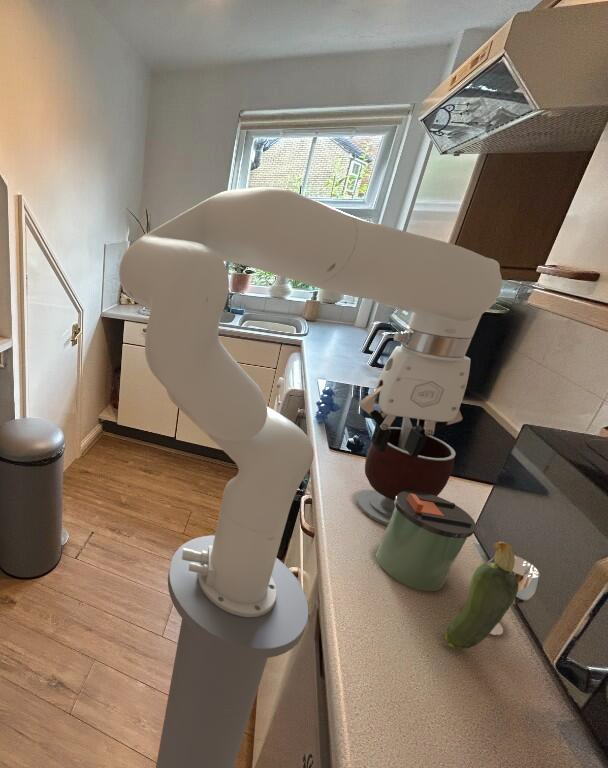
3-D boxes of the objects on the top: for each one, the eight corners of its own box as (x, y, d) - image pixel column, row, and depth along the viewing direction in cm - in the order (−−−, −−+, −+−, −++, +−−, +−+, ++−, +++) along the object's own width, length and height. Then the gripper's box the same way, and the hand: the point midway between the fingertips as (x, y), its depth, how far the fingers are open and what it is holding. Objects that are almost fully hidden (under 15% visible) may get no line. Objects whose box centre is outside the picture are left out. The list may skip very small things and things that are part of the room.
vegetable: (476, 651, 59) (540, 546, 52) (474, 672, 56) (541, 565, 49) (439, 630, 62) (493, 528, 54) (435, 649, 59) (492, 545, 52)
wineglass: (497, 645, 60) (533, 586, 56) (452, 612, 65) (483, 556, 61) (516, 631, 63) (553, 573, 58) (472, 600, 67) (503, 545, 63)
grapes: (334, 433, 120) (345, 396, 115) (309, 427, 123) (319, 391, 118) (336, 418, 129) (346, 384, 125) (312, 413, 132) (322, 379, 128)
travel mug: (386, 584, 70) (413, 523, 65) (364, 540, 79) (386, 483, 74) (459, 600, 67) (493, 537, 62) (427, 552, 77) (454, 494, 72)
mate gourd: (439, 540, 80) (480, 454, 73) (360, 522, 84) (391, 439, 77) (411, 494, 94) (443, 417, 86) (344, 480, 98) (369, 406, 90)
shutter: (415, 513, 68) (419, 505, 67) (406, 499, 71) (409, 492, 70) (443, 517, 67) (447, 510, 66) (432, 504, 70) (435, 496, 69)
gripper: (380, 344, 58) (345, 453, 65) (519, 358, 54) (466, 472, 61) (362, 331, 65) (331, 431, 72) (485, 342, 61) (440, 447, 68)
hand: (394, 449), depth 66 cm, fingers open, 4 cm apart
